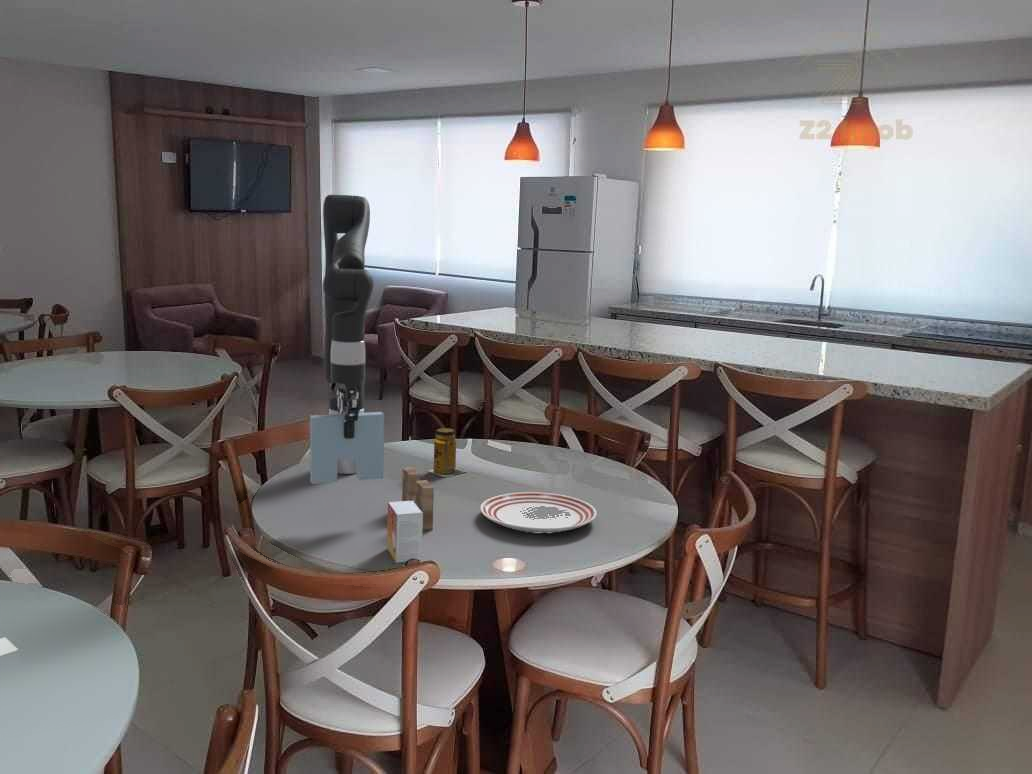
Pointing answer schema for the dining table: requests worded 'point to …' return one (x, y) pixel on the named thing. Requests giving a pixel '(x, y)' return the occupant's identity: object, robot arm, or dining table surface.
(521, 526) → the dinner plate
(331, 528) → the dining table surface
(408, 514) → the small box
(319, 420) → the light blue square panel
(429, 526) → the walnut block
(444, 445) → the condiment
